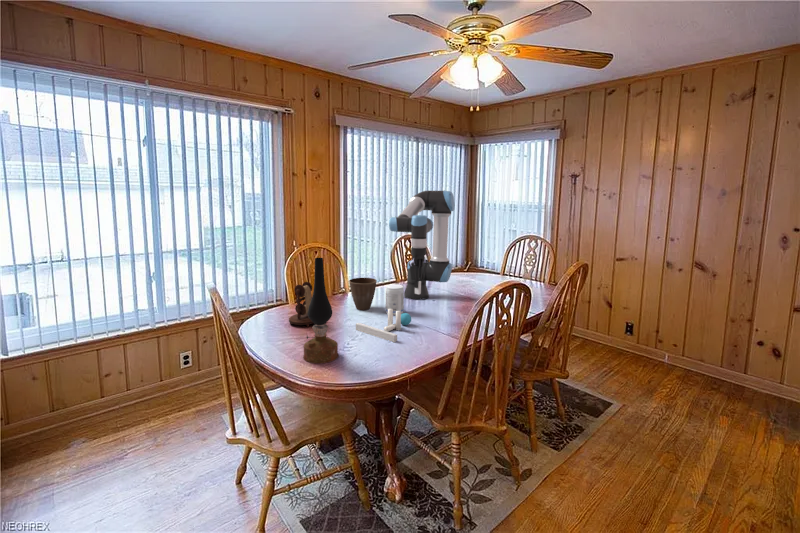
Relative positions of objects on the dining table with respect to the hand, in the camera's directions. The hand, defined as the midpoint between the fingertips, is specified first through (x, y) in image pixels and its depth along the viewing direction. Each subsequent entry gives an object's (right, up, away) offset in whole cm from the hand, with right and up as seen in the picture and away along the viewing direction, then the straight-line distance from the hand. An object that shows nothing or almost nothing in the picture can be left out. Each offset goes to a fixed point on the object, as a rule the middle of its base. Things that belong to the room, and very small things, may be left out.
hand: (417, 293), depth 208 cm
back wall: (-20, -17, -20) cm, 33 cm away
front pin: (-9, -14, -9) cm, 19 cm away
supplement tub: (-12, -11, +15) cm, 22 cm away
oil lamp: (-40, -22, -44) cm, 64 cm away
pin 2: (-10, -16, -12) cm, 22 cm away
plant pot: (-29, -10, +22) cm, 38 cm away
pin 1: (-14, -16, -9) cm, 22 cm away
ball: (-6, -12, -5) cm, 15 cm away
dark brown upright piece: (-56, -14, -4) cm, 58 cm away
